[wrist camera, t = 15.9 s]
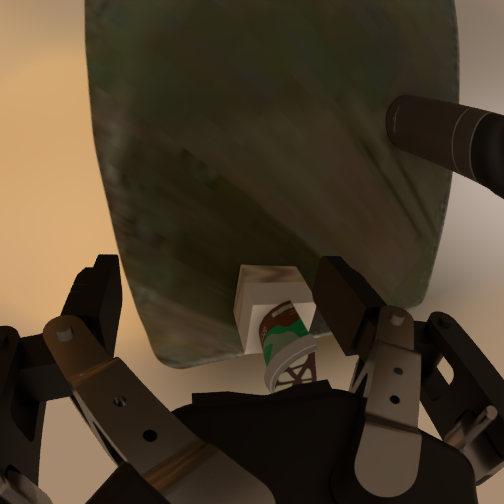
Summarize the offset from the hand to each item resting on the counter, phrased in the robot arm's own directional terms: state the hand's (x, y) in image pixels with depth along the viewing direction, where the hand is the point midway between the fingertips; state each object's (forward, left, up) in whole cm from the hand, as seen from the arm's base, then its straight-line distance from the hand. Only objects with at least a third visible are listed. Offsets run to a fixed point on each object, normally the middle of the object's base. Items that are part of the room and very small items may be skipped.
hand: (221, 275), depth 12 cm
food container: (-11, +22, -20) cm, 32 cm away
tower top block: (-12, +22, -25) cm, 36 cm away
